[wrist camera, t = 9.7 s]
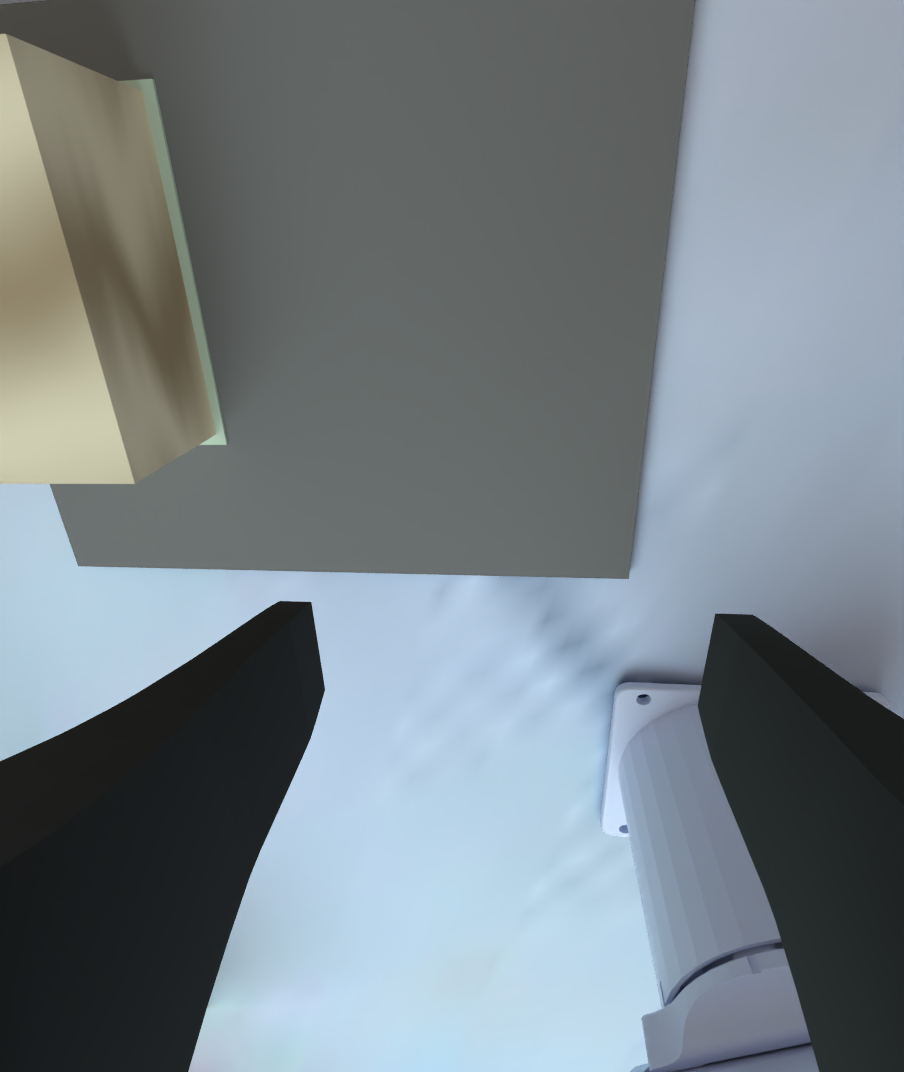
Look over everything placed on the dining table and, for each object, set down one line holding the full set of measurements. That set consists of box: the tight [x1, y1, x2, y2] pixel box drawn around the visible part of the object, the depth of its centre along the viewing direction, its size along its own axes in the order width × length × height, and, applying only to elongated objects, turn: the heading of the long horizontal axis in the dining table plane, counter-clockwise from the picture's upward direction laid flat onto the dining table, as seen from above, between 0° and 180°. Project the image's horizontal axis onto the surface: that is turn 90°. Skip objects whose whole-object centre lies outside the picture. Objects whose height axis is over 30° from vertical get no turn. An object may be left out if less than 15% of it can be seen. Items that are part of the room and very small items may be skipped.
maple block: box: [0, 34, 216, 484], centre depth 15 cm, size 9×5×4 cm, turn 2°
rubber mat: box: [0, 0, 695, 579], centre depth 18 cm, size 20×16×1 cm
